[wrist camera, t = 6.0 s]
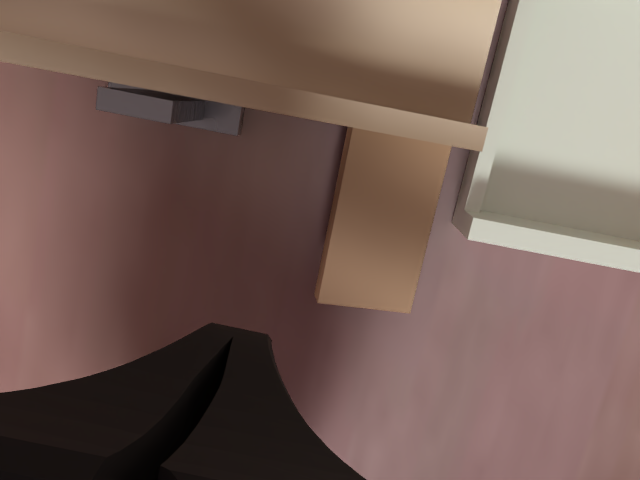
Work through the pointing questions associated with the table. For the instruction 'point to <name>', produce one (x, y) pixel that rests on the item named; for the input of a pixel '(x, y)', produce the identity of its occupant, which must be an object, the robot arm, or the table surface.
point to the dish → (560, 135)
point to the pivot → (170, 108)
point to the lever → (303, 98)
